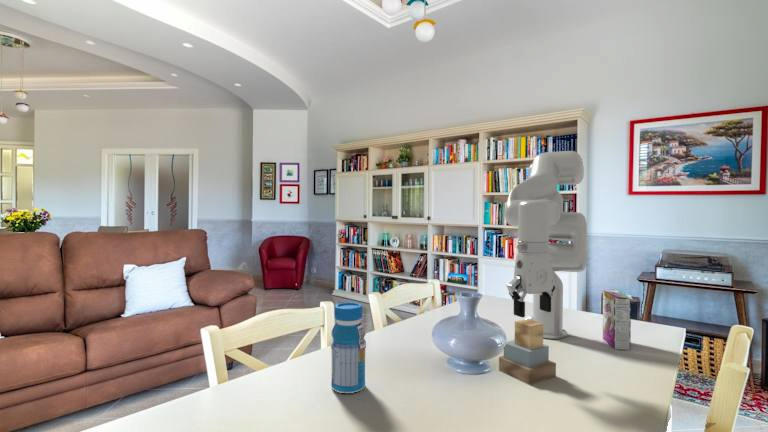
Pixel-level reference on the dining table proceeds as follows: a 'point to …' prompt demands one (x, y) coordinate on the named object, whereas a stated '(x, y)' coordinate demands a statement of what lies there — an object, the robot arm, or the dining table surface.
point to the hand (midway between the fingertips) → (532, 313)
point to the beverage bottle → (348, 349)
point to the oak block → (529, 334)
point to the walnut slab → (528, 371)
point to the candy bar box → (617, 319)
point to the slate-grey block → (526, 354)
